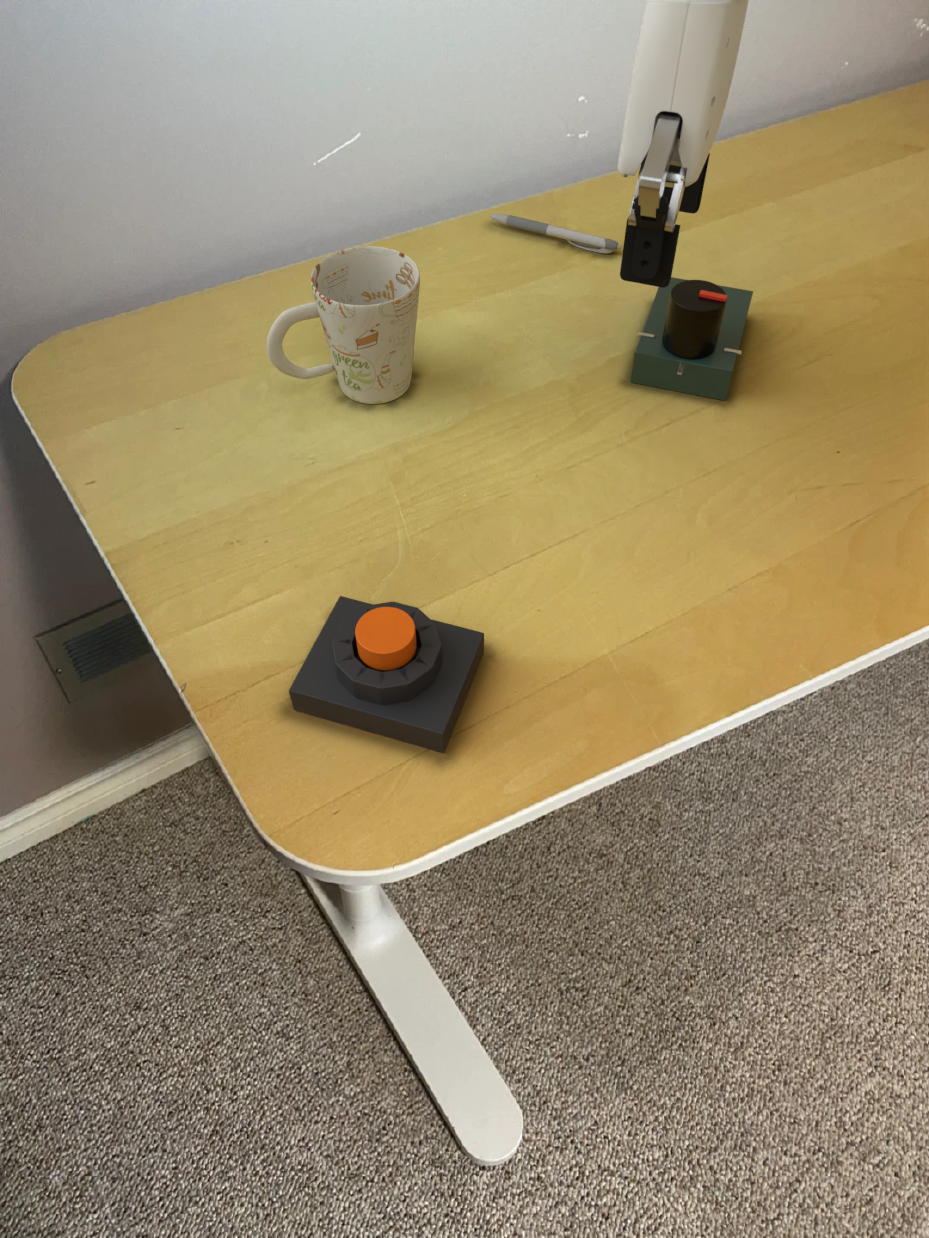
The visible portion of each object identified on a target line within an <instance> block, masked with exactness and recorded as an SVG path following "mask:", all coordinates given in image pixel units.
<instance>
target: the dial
mask: <svg viewBox="0 0 929 1238" xmlns="http://www.w3.org/2000/svg"><path fill="white" fill-rule="evenodd" d="M686 280H687V281H683V282H680V283H678V284H676V285H675V286H674V287H673V288H672V290H671V293H670V299H669V304H668V310H667V315H666V321H665V326H664V332H663V337H662V344H663V346H664V348H665V349H666V350H667V351H668V352H669V353H671V354H673V355H675V356H677V357H680V358H684V359H701V358H704V357H707V356H709V355H710V354H712V353H713V352H714V350H715V348H716V344H717V340H718V336H719V331H720V327H721V323H722V319H723V314H724V310H725V306H726V301H727V295H726V293H725V291H724V290H723V289H722V288H721V287H719V286H718V285H719V284H716V283H714V282H712V281H709V280H708V281H707V280H703V279H686Z"/></svg>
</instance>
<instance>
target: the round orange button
mask: <svg viewBox="0 0 929 1238" xmlns="http://www.w3.org/2000/svg"><path fill="white" fill-rule="evenodd" d="M355 636H356V642H357V649H358V654H359V656H360V658H361V660H362V661H363V662H364V663H365V664H366V665H368V666H370V667H372V668H374V669H377V670H394V669H397V668H400V667H402V666H404V665H405V664H407V663H408V662H409V661H410V660H411V659H412V657H413V656H414V654H415V651H416V631H415V624H414V621H413V620H412V618H411V617H410V616H409V615H408V614H407V613H406V612H404V611H403V610H400V609H398V608H394V607H380V608H376V609H373V610H371V611H369V612H367V613H366V614H364V615H363V616H362V617H361V618H360V619H359V621H358V623H357V625H356V628H355Z"/></svg>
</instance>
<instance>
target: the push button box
mask: <svg viewBox="0 0 929 1238" xmlns="http://www.w3.org/2000/svg"><path fill="white" fill-rule="evenodd" d="M380 607H394V608H398V609H400V610H403V611H404V612H406V613H407V614H408V615H409V616H410V617H411V618H412V620H413V621H414V624H415V631H416V651H415V654H414V656H413V657H412V659H411V660H410V661H409V662H408V663H407V664H405V665H404V666H402V667H400V668H397V669H394V670H377V669H374V668H372V667H370V666H368V665H366V664H365V663H364V662H363V661H362V660H361V658H360V656H359V654H358V649H357V642H356V636H355V628H356V625H357V623H358V621H359V619H360V618H361V617H362V616H363V615H364V614H366V613H367V612H369V611H371V610H373V609H376V608H380ZM484 654H485V632H482V631H479V630H475V629H470V628H466V627H462V626H459V625H455V624H451V623H447V622H443V621H439V620H435V619H431V618H430V617H429V616H428V615H426V613H424V612H423V611H422V610H421V609H420V608H419V607H417V606H413V605H409V604H404V603H401V602H398V601H397V602H396V601H385V602H380V603H370V602H365V601H362V600H359V599H354V598H350V597H346V596H342V595H340V596H338V599H337V600H336V602H335V604H334V606H333V608H332V610H331V611H330V613H329V615H328V617H327V619H326V621H325V622H324V625H323V627H322V628H321V629H320V632H319V633H318V636H317V638H316V639H315V641H314V643H313V645H312V647H311V648H310V651H308V654H307V655H306V658H305V660H304V661H303V663H302V665H301V667H300V668H299V671H298V672H297V674H296V677H295V678H294V680H293V681H292V684H291V686H290V687H289V689H288V693H289V697H290V701H291V705H292V709H293V710H294V711H295V712H298V713H303V714H307V715H309V716H313V717H316V718H320V719H322V720H327V721H330V722H333V723H338V724H341V725H344V726H348V727H350V728H351V727H352V728H355V729H358V730H361V731H365V732H369V733H372V734H376V735H379V736H382V737H385V738H386V737H387V738H389V739H394V740H397V741H400V742H404V743H407V744H410V745H414V746H418V747H420V748H421V747H422V748H425V749H428V750H432V751H435V752H438V753H442V754H444V753H445V752H446V749H447V746H448V744H449V742H450V739H451V737H452V734H453V731H454V729H455V727H456V725H457V721H458V719H459V717H460V714H461V712H462V709H463V707H464V704H465V702H466V699H467V696H468V695H469V692H470V690H471V687H472V684H473V682H474V680H475V677H476V675H477V672H478V669H479V667H480V665H481V662H482V659H483V658H484V657H483V656H484Z"/></svg>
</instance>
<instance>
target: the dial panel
mask: <svg viewBox="0 0 929 1238" xmlns="http://www.w3.org/2000/svg"><path fill="white" fill-rule="evenodd" d="M687 280H688V279H684V278H679V277H674V276H671V280H670V283H669V285H668V286H667V287H664V288H662V287H658V288H657V291H656V293H655V296H654V299H653V302H652V304H651V307H650V309H649V312H648V315H647V318H646V320H645V323H644V326H643V329H642V332H641V331H637V333H636V336H637V337H639V340H638V342H637V344H636V347H635V351H634V354H633V361H632V366H631V373H630V379H629V382H630V383H633V384H637V385H643V386H648V387H653V388H659V389H664V390H669V391H673V392H679V393H684V394H688V395H694V396H699V397H704V398H709V399H715V400H720V401H726V399H727V395H728V392H729V388H730V384H731V381H732V376H733V373H734V368H735V365H736V360H737V356H738V355H739V356H741V355H742V353H743V351H742V350H740V345H741V341H742V337H743V333H744V329H745V325H746V321H747V316H748V313H749V309H750V305H751V302H752V298H753V294H754V291H753V290H748V289H743V288H737V287H731V286H725V285H719V284H717V285H718V286H719V287H721V288H722V289H723V290H724V291H725V293H726V295H727V301H726V306H725V310H724V314H723V319H722V323H721V327H720V331H719V336H718V340H717V344H716V348H715V350H714V352H713V353H712V354H710V355H709V356H707V357H704V358H701V359H684V358H680V357H677V356H675V355H673V354H671V353H669V352H668V351H667V350H666V349H665V348H664V346H663V344H662V337H663V332H664V326H665V321H666V315H667V310H668V304H669V299H670V293H671V290H672V288H673V287H674V286H675V285H676V284H678V283H680V282H683V281H687Z"/></svg>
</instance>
